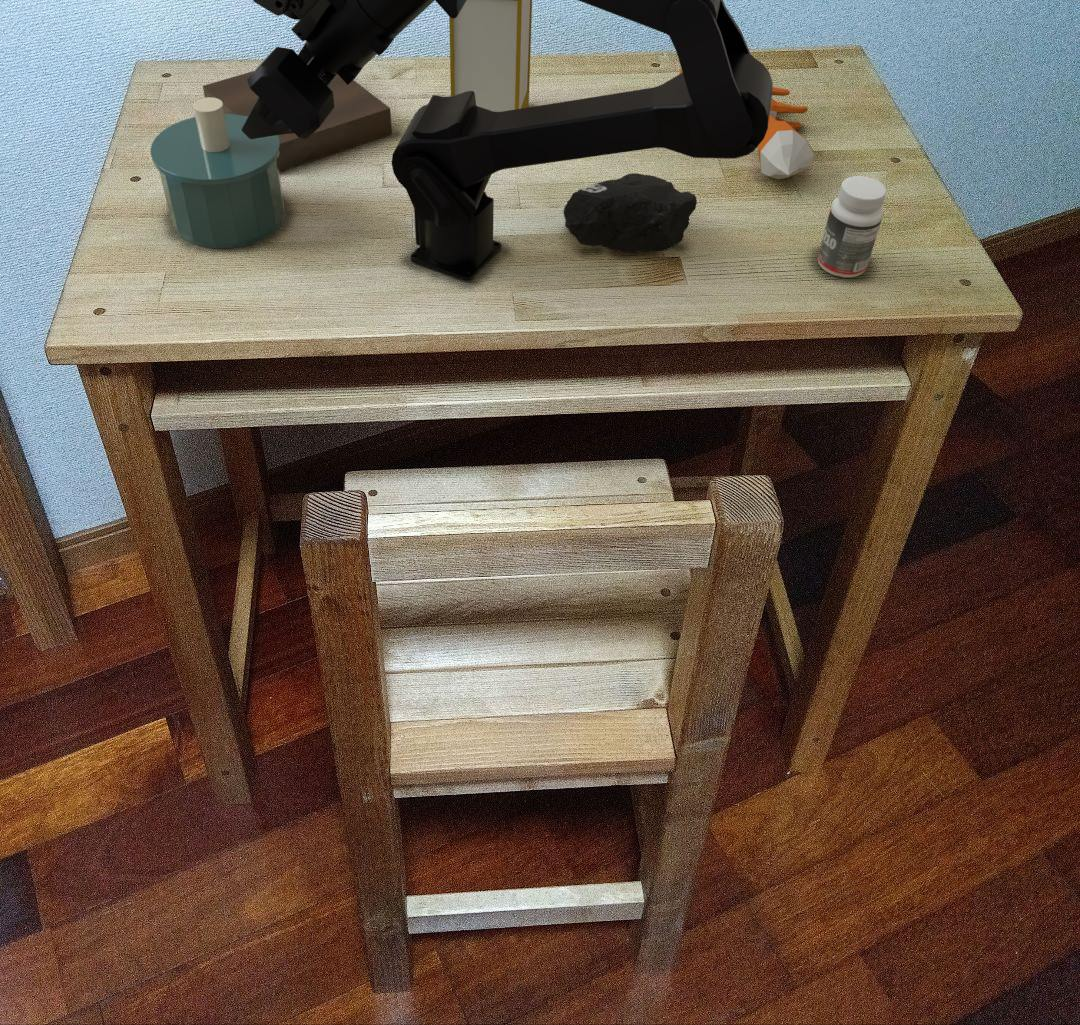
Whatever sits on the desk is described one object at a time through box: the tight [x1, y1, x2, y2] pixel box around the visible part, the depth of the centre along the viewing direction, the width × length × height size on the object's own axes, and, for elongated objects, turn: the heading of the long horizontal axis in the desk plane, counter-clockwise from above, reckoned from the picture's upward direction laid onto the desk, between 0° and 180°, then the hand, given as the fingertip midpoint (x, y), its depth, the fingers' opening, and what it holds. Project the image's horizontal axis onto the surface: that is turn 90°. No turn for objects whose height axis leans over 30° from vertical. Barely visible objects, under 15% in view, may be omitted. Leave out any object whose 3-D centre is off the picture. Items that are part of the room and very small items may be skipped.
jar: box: [158, 159, 286, 250], centre depth 107 cm, size 11×11×7 cm
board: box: [202, 70, 393, 173], centre depth 121 cm, size 15×14×3 cm
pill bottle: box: [817, 175, 887, 278], centre depth 106 cm, size 5×5×8 cm
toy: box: [678, 69, 815, 181], centre depth 121 cm, size 8×22×15 cm
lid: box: [150, 97, 281, 185], centre depth 103 cm, size 12×12×5 cm
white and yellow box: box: [448, 0, 533, 112], centre depth 114 cm, size 7×13×24 cm, turn 171°
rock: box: [563, 172, 698, 254], centre depth 108 cm, size 10×9×6 cm
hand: (267, 108), depth 100 cm, fingers open, 9 cm apart
